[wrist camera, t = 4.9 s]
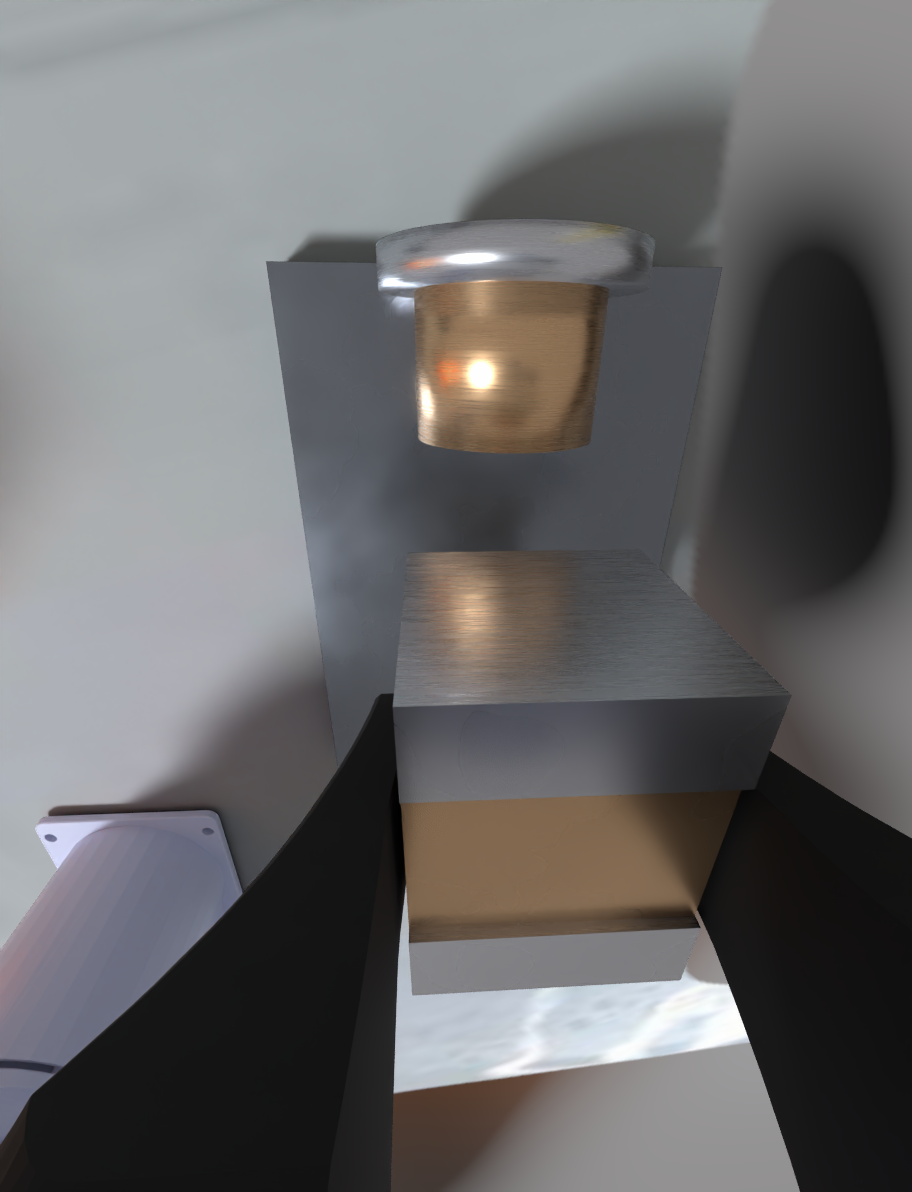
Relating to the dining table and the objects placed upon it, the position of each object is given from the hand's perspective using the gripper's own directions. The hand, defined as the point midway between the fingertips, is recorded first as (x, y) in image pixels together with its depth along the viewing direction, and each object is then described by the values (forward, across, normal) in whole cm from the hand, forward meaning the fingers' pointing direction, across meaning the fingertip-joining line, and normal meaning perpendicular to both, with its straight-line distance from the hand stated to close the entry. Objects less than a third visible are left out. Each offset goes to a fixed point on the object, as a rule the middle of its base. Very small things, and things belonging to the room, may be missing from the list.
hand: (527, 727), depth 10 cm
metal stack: (+9, 0, 0) cm, 9 cm away
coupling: (+2, 0, 0) cm, 2 cm away
